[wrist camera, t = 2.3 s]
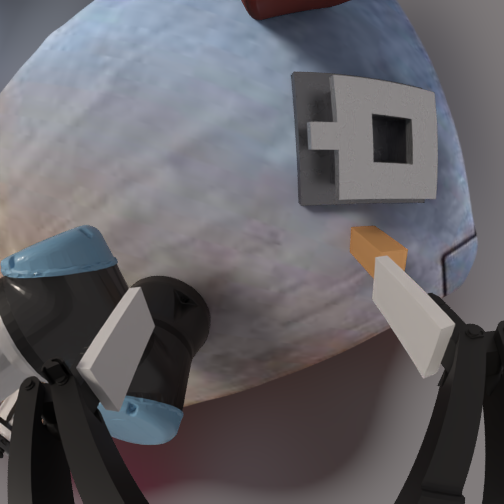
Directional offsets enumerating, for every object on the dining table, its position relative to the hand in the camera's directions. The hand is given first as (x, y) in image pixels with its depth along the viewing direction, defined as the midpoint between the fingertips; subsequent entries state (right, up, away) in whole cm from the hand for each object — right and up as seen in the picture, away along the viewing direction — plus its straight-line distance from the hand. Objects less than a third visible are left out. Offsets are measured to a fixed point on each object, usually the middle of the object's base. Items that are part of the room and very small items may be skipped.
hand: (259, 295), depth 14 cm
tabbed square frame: (+15, +18, +19) cm, 31 cm away
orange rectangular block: (+16, +4, +25) cm, 30 cm away
